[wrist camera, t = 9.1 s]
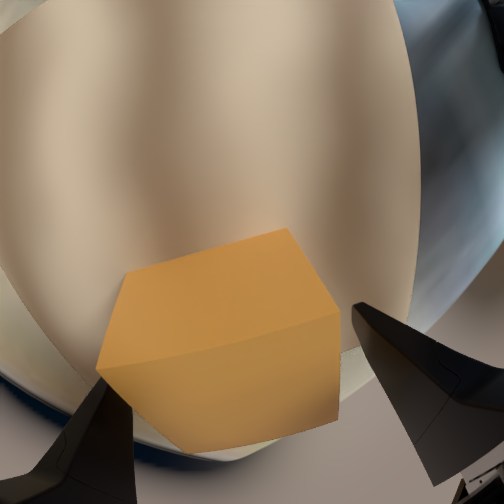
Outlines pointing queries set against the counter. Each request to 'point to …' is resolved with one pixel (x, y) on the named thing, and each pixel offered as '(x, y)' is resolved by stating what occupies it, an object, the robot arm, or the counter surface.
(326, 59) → the birch board
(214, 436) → the amber foam cube
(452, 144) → the counter surface
